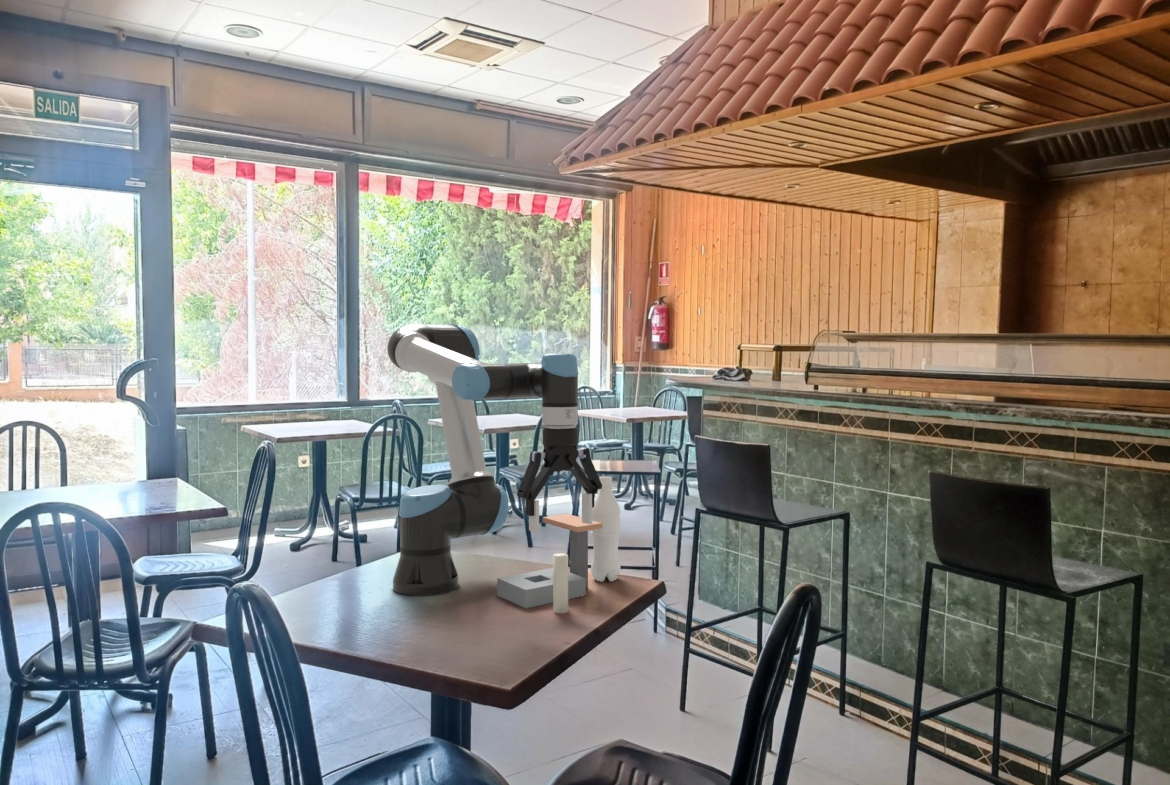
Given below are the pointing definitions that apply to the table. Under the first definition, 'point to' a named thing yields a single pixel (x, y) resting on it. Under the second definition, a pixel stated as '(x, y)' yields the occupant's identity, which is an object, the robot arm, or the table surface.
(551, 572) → the socket block
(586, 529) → the wooden topped pedestal
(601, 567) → the water bottle
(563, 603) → the peg
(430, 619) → the table surface
